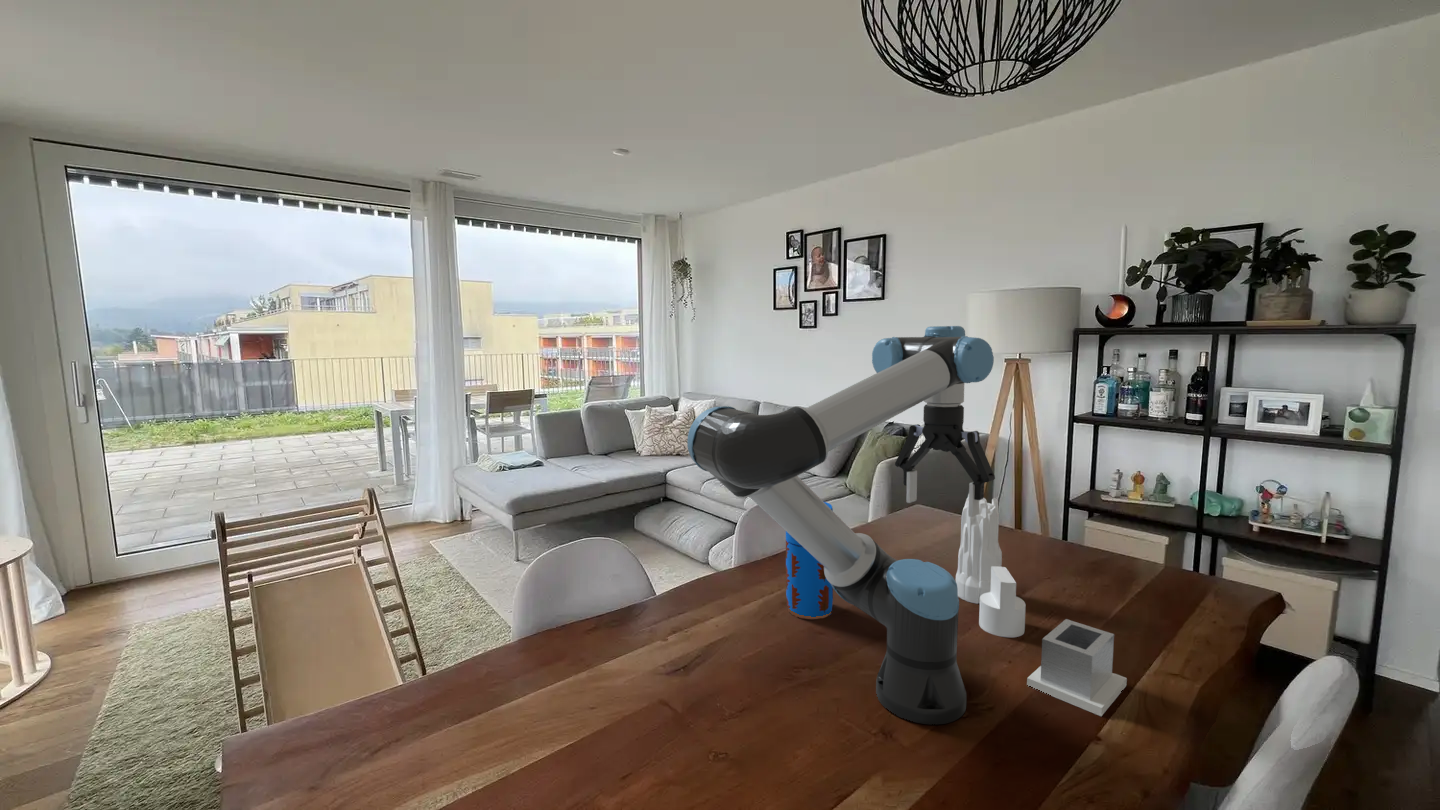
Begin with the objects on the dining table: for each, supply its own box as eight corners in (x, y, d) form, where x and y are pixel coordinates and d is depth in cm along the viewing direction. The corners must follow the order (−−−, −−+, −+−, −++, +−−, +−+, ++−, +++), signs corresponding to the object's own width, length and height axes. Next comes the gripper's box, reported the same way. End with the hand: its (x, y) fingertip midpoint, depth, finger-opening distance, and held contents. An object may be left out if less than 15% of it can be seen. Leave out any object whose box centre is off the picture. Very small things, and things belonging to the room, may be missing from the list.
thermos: (831, 600, 146) (831, 499, 143) (835, 620, 136) (835, 513, 133) (786, 599, 147) (785, 499, 144) (786, 619, 137) (785, 512, 134)
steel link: (1090, 700, 102) (1092, 656, 101) (1040, 680, 108) (1042, 638, 108) (1111, 675, 110) (1114, 634, 109) (1064, 658, 116) (1066, 618, 115)
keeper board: (1101, 716, 101) (1103, 677, 100) (1026, 685, 110) (1028, 649, 109) (1126, 685, 109) (1128, 649, 108) (1055, 659, 118) (1056, 625, 117)
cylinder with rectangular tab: (1029, 639, 126) (1032, 584, 125) (984, 635, 128) (985, 581, 126) (1017, 619, 135) (1019, 567, 133) (975, 616, 137) (976, 565, 135)
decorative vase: (1010, 604, 142) (1014, 501, 139) (965, 605, 142) (968, 501, 139) (991, 585, 153) (994, 489, 150) (948, 585, 153) (951, 489, 150)
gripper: (1016, 407, 113) (1012, 517, 115) (899, 398, 131) (898, 493, 134) (997, 411, 108) (993, 526, 110) (879, 401, 127) (878, 499, 129)
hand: (941, 508), depth 122 cm, fingers open, 13 cm apart
